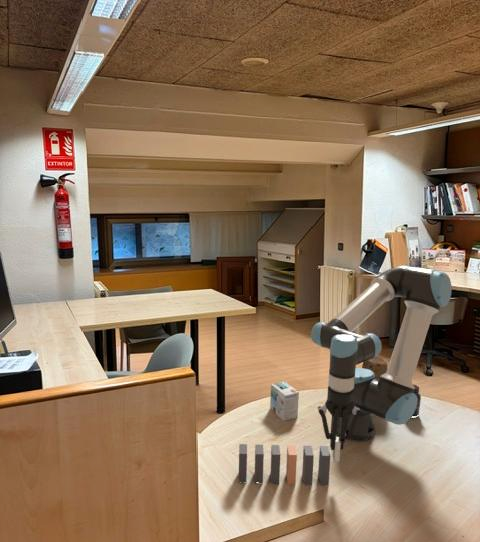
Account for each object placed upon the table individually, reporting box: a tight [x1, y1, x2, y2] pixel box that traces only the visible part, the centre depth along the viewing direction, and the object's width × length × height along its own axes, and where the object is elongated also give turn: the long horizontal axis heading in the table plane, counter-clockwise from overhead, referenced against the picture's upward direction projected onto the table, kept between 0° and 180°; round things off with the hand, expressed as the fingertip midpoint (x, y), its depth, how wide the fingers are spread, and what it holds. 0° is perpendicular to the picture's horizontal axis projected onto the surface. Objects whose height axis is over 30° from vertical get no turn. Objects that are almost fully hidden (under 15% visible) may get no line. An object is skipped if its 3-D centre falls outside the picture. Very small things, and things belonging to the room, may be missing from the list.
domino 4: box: [285, 444, 298, 485], centre depth 140 cm, size 2×5×10 cm, turn 179°
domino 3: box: [270, 444, 281, 485], centre depth 140 cm, size 2×5×10 cm, turn 179°
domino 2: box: [254, 443, 265, 484], centre depth 140 cm, size 2×5×10 cm, turn 179°
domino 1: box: [238, 443, 248, 483], centre depth 140 cm, size 2×5×10 cm, turn 179°
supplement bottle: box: [412, 384, 422, 416], centre depth 179 cm, size 7×7×12 cm
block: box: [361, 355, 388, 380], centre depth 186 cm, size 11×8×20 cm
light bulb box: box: [269, 381, 300, 422], centre depth 179 cm, size 11×7×11 cm, turn 27°
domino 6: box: [317, 445, 331, 486], centre depth 140 cm, size 2×5×10 cm, turn 179°
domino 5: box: [301, 445, 315, 486], centre depth 140 cm, size 2×5×10 cm, turn 179°
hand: (335, 458), depth 139 cm, fingers closed
